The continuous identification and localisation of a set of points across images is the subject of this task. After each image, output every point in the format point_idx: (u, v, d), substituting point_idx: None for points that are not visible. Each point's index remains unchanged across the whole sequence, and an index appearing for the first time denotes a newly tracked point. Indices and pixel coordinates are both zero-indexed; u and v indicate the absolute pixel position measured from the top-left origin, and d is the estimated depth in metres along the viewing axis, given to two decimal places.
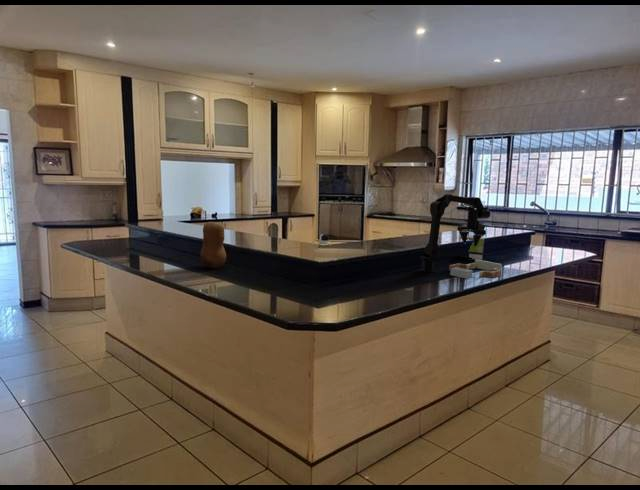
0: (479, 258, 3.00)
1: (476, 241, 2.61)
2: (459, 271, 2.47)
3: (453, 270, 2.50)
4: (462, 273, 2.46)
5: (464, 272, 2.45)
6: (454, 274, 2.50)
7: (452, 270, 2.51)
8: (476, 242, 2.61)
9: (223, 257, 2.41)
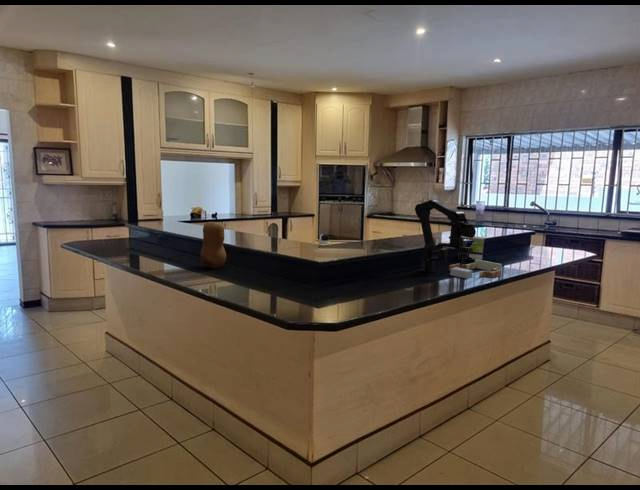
0: (479, 258, 3.00)
1: (462, 260, 2.38)
2: (459, 271, 2.47)
3: (453, 270, 2.50)
4: (463, 273, 2.46)
5: (465, 272, 2.45)
6: (454, 274, 2.50)
7: (452, 270, 2.50)
8: (462, 261, 2.39)
9: (223, 257, 2.41)
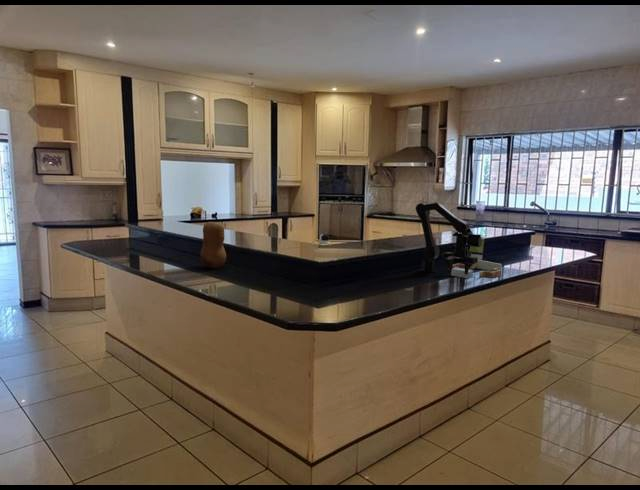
0: (479, 258, 3.00)
1: (467, 269, 2.43)
2: (461, 271, 2.47)
3: (454, 270, 2.50)
4: (464, 273, 2.46)
5: None
6: (455, 274, 2.49)
7: (453, 271, 2.50)
8: (467, 270, 2.43)
9: (223, 257, 2.41)
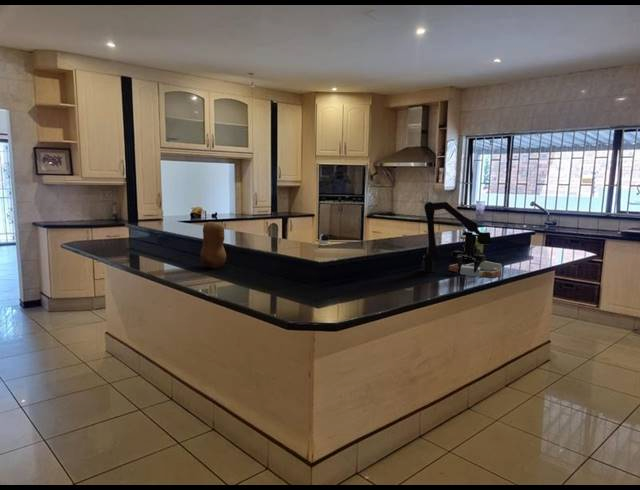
0: None
1: (476, 267, 2.49)
2: (470, 269, 2.52)
3: (463, 269, 2.54)
4: None
5: None
6: (465, 272, 2.54)
7: (462, 269, 2.54)
8: (476, 268, 2.49)
9: (223, 257, 2.41)
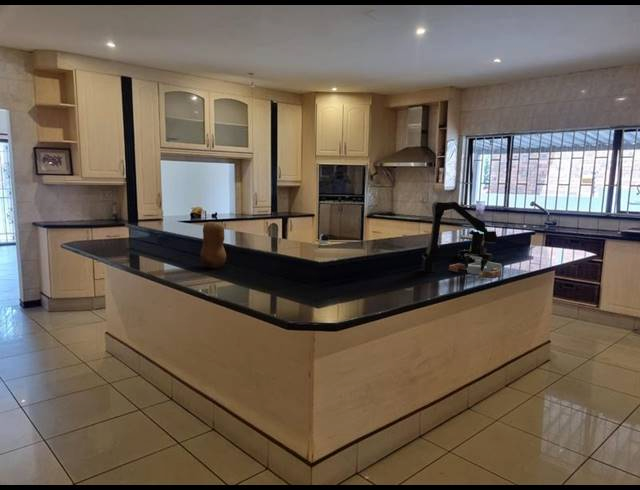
0: (479, 258, 3.00)
1: (483, 266, 2.54)
2: (477, 268, 2.57)
3: (470, 267, 2.58)
4: None
5: None
6: (472, 271, 2.58)
7: (469, 268, 2.58)
8: (483, 267, 2.54)
9: (223, 257, 2.41)
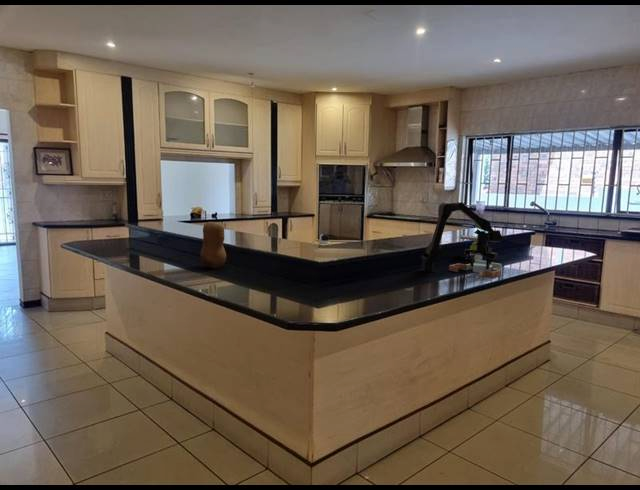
0: (479, 258, 3.00)
1: (488, 265, 2.57)
2: (483, 267, 2.60)
3: (476, 266, 2.62)
4: None
5: None
6: (477, 270, 2.62)
7: (475, 267, 2.62)
8: (488, 266, 2.58)
9: (223, 257, 2.41)
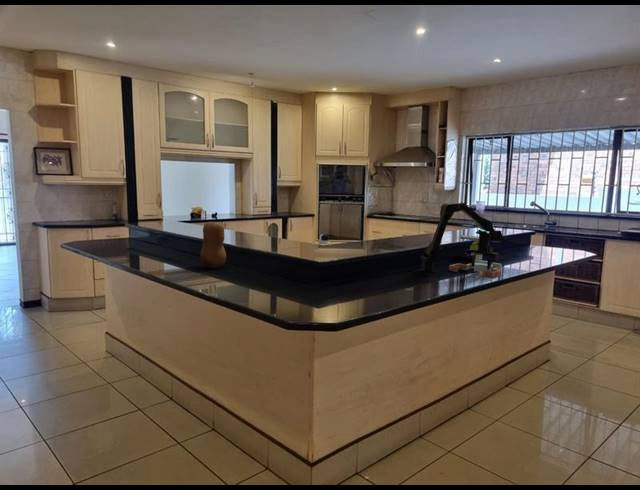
0: (479, 258, 3.00)
1: (490, 265, 2.59)
2: (484, 266, 2.62)
3: (477, 266, 2.63)
4: None
5: None
6: (478, 269, 2.63)
7: (476, 266, 2.63)
8: (489, 266, 2.59)
9: (223, 257, 2.41)
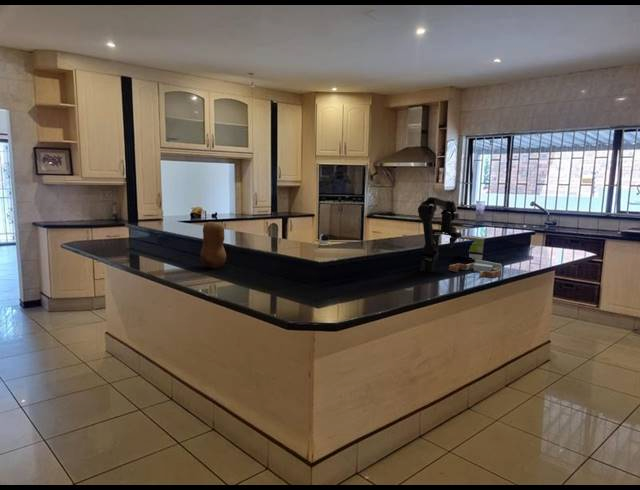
0: (479, 258, 3.00)
1: (452, 244, 2.65)
2: (483, 267, 2.62)
3: (477, 266, 2.63)
4: (487, 268, 2.61)
5: (489, 267, 2.60)
6: (478, 270, 2.63)
7: (476, 266, 2.64)
8: (452, 245, 2.65)
9: (223, 257, 2.41)
